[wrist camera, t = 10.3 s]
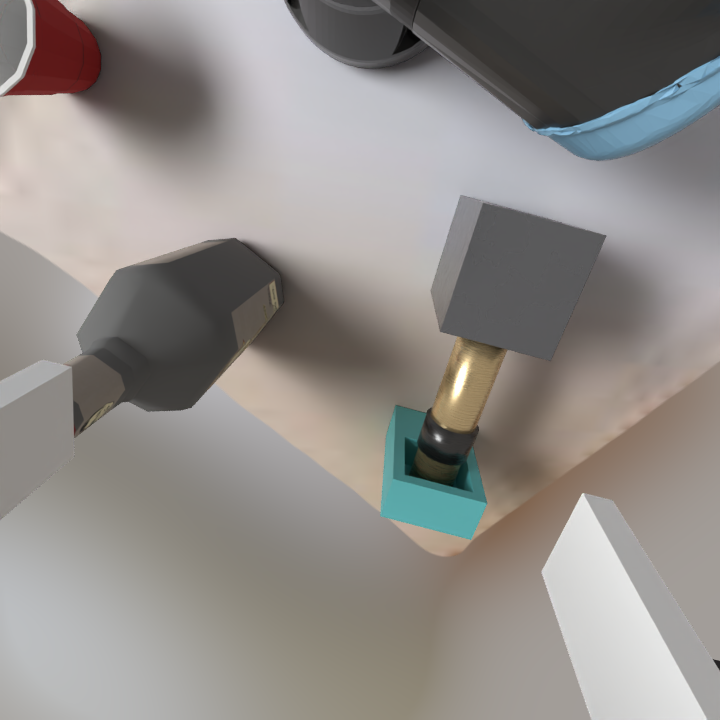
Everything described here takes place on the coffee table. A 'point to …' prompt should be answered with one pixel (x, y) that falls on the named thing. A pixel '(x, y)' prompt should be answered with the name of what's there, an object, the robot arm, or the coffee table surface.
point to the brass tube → (456, 411)
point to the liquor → (171, 328)
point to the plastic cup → (45, 49)
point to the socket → (427, 484)
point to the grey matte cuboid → (511, 277)
